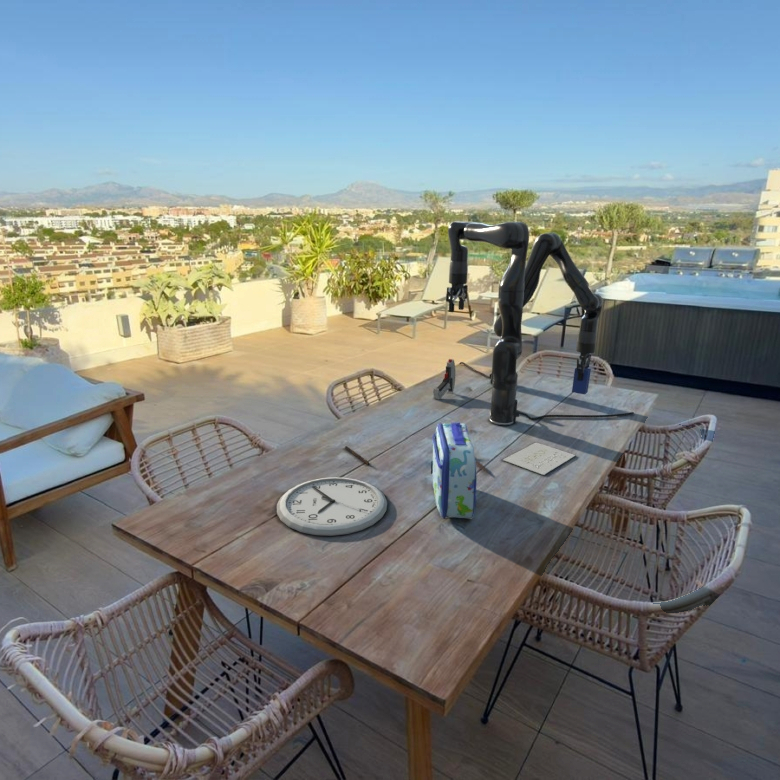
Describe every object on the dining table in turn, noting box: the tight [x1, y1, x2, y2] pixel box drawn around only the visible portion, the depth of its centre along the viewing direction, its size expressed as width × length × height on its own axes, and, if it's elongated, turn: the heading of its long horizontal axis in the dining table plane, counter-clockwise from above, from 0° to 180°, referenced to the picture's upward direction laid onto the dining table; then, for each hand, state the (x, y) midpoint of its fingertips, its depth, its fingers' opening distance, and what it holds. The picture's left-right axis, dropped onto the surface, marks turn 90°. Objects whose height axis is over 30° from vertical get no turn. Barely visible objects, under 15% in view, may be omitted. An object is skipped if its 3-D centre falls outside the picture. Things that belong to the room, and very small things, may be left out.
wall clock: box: [276, 476, 388, 537], centre depth 142 cm, size 30×2×30 cm
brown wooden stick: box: [344, 445, 370, 465], centre depth 173 cm, size 15×1×1 cm, turn 34°
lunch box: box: [430, 422, 478, 520], centre depth 143 cm, size 26×11×21 cm, turn 179°
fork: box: [475, 459, 488, 474], centre depth 169 cm, size 3×16×2 cm, turn 15°
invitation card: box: [502, 442, 577, 476], centre depth 174 cm, size 21×1×15 cm
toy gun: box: [433, 358, 456, 400], centre depth 235 cm, size 2×16×15 cm
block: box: [571, 367, 592, 395], centre depth 229 cm, size 4×6×11 cm
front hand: (456, 310), depth 223 cm, fingers open, 8 cm apart
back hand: (581, 379), depth 229 cm, fingers closed on block, 4 cm apart
